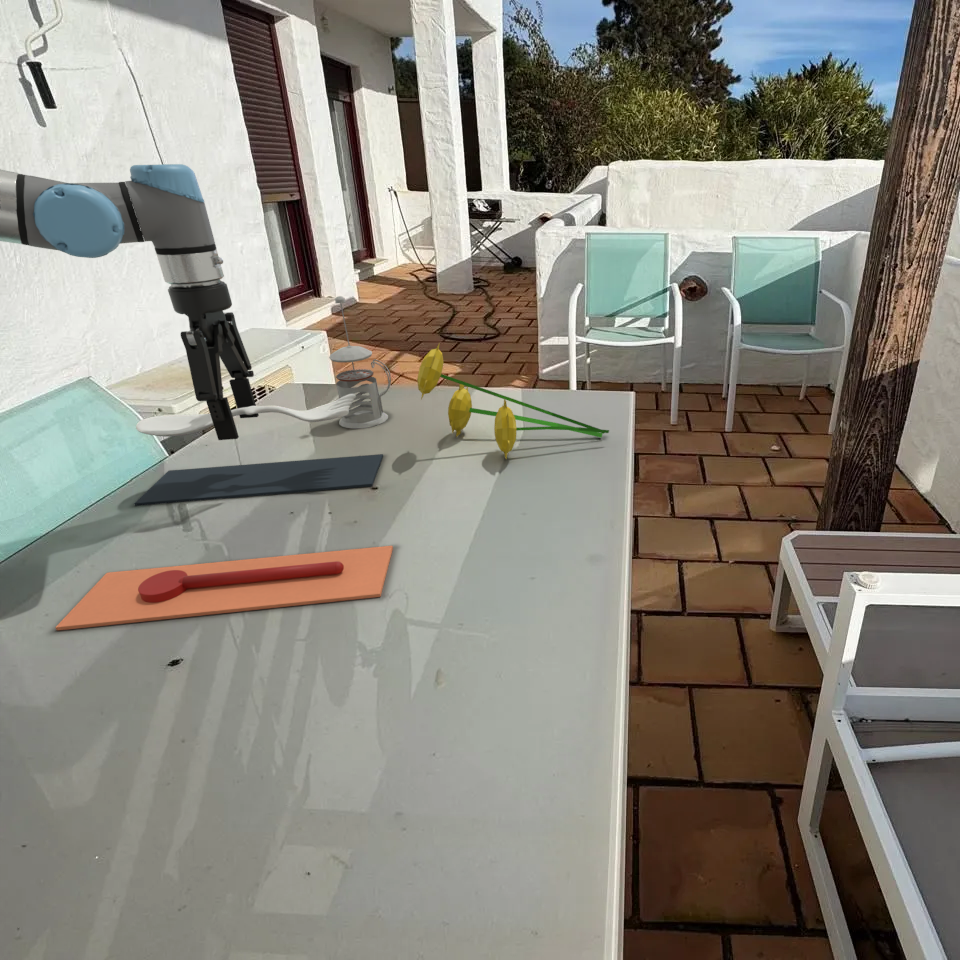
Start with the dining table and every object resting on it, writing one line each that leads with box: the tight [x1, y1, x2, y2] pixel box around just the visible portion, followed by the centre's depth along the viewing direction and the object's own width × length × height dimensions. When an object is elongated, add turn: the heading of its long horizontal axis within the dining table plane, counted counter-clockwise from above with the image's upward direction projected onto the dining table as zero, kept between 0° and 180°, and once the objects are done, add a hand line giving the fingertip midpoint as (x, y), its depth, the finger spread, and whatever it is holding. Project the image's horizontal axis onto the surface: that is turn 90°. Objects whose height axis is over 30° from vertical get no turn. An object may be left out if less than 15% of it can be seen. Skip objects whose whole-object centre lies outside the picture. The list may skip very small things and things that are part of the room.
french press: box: [328, 295, 392, 429], centre depth 126 cm, size 10×12×25 cm
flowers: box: [416, 342, 610, 461], centre depth 117 cm, size 16×22×35 cm
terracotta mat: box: [55, 545, 394, 631], centre depth 80 cm, size 36×11×1 cm, turn 99°
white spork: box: [135, 393, 356, 438], centre depth 102 cm, size 9×32×4 cm, turn 101°
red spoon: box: [138, 561, 344, 603], centre depth 79 cm, size 24×5×2 cm, turn 99°
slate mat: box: [133, 453, 384, 507], centre depth 107 cm, size 36×12×1 cm, turn 99°
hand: (239, 427), depth 102 cm, fingers closed on white spork, 9 cm apart
